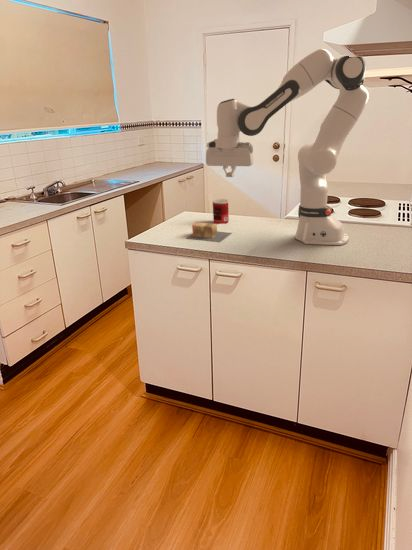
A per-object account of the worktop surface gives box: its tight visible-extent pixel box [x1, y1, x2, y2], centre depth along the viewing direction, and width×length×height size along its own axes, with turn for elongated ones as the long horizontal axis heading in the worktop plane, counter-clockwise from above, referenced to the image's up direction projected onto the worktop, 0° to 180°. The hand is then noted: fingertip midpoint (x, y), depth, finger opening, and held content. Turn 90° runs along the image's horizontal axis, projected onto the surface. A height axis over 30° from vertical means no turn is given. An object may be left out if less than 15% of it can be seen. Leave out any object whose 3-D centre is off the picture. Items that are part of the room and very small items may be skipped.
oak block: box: [191, 221, 218, 238], centre depth 187 cm, size 5×5×10 cm
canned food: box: [212, 198, 230, 225], centre depth 205 cm, size 8×8×11 cm
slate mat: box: [185, 230, 233, 243], centre depth 187 cm, size 17×14×1 cm
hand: (229, 176), depth 172 cm, fingers closed
